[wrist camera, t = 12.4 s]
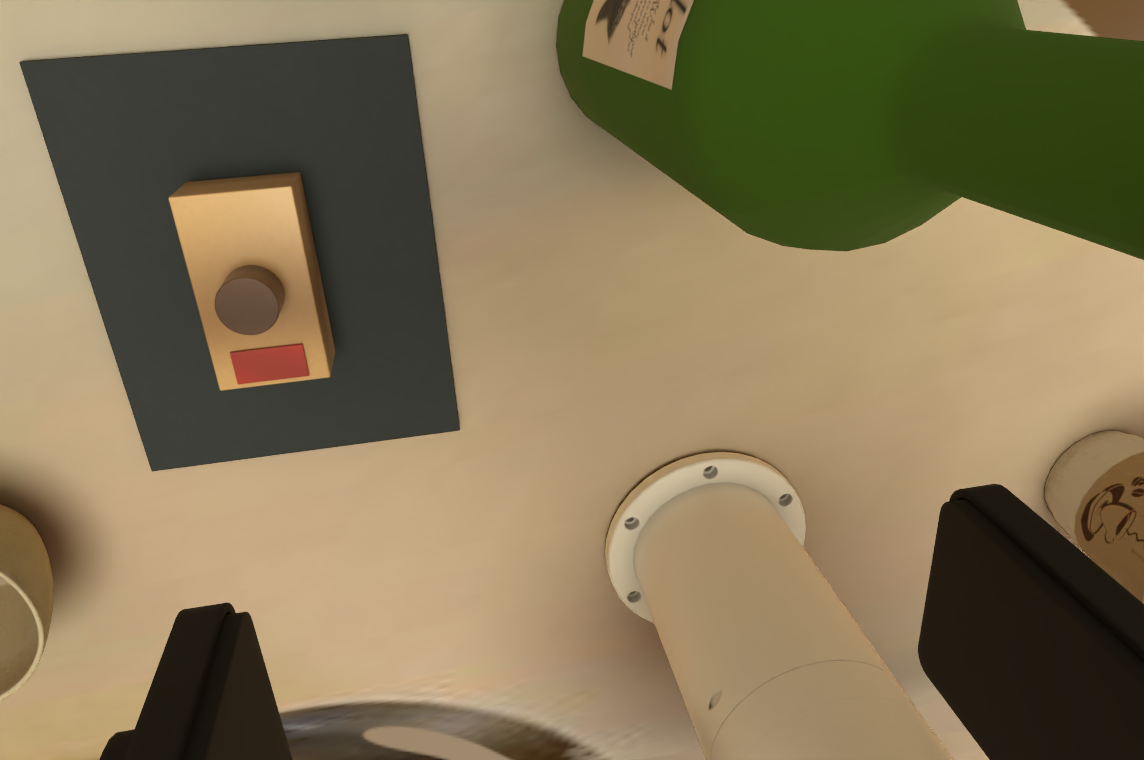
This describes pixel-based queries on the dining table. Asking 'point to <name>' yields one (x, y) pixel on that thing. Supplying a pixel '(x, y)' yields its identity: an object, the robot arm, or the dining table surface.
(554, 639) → the dining table surface
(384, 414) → the desk mat
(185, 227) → the stamp
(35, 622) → the beige bowl
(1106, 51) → the wine bottle
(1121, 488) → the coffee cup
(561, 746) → the dining table surface
